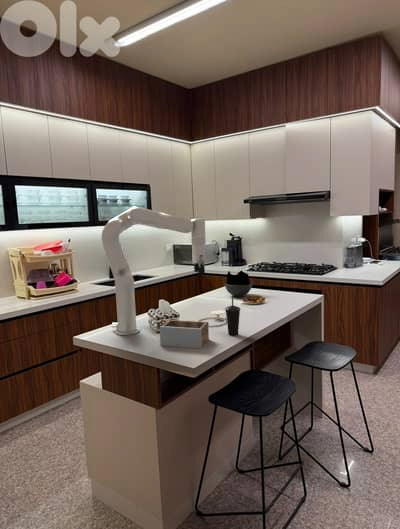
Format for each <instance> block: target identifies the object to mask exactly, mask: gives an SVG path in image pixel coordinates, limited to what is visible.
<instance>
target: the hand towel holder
mask: <svg viewBox="0 0 400 529" xmlns="http://www.w3.org/2000/svg"><path fill="white" fill-rule="evenodd" d="M210 313H211V314H212V315H213V316H210V317H209V316H207V317H202V318H199V319H198V320H196V321H200V322H202V321H204V320H212V319H213V320H221V321H223V322H222V323H218V324H211V325H210V324H208V328H217V327H222V326H224V325H225V323H227V319H225V318H223V317H220V316H221V315H224V314H226V311H225V310H218V309H217V310H212V311H211V312H210ZM215 315H216V316H215Z"/></svg>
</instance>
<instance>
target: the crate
mask: <svg viewBox="0 0 400 529" xmlns="http://www.w3.org/2000/svg"><path fill="white" fill-rule="evenodd" d="M208 325H209V322H208V321H197V320H180V319H179V320H178V319H176V320H175V319H169V320H167V321H166V322H165V323H163V324H162V325H161V326H169V327H185V328H201V331H202V348H203V347H204V346H205V344H207V343H208V341H209V340H210V336H209V332H210V331H209V327H208Z"/></svg>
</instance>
